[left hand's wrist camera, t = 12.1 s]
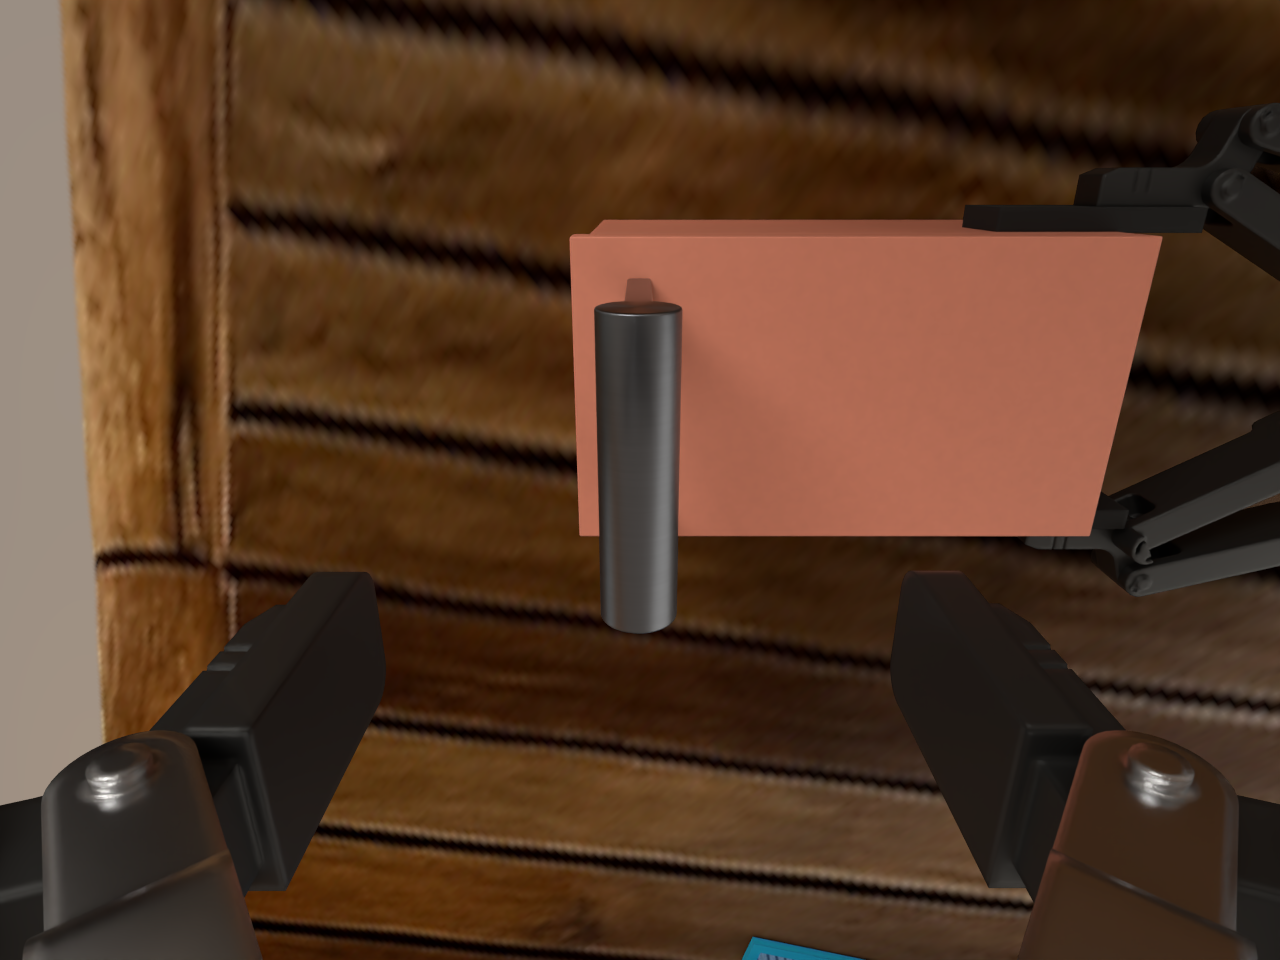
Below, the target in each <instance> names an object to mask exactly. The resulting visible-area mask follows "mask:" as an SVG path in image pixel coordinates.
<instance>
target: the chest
mask: <svg viewBox="0 0 1280 960" xmlns="http://www.w3.org/2000/svg"><path fill="white" fill-rule="evenodd" d="M962 224H963V220H603V222H602V223H601V224H600V225H599V226H598V227H597V228H596V229H595V230H594V231H593V232H591V233H590V234H1133V233H1123V232H993V231H986V230H979V229H971V228H964V227H962Z"/></svg>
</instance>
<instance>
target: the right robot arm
mask: <svg viewBox="0 0 1280 960" xmlns="http://www.w3.org/2000/svg"><path fill="white" fill-rule="evenodd" d="M1196 140H1197V142H1198V143H1197V145H1196V146H1195V148H1194V150H1193V152H1192V153H1191V154H1190V156H1189V157H1188V158H1187V159H1186V160H1185V161H1184V162H1182V163H1181V164H1179V165H1178V166H1175V167H1172V168H1096V169H1093V170H1091V171H1088V172H1086V173H1083V174H1081V175H1079V180H1078V185H1077V190H1076V195H1075V200H1074V205H965V211H964V217H963V224H962V227H964V228H971V229H979V230H986V231H993V232H1123V233H1202V230H1203V229H1204V230H1206V231H1207V232H1208V233H1210V234H1211V235H1213V236H1214V237H1216V238H1217V239H1219V240H1220V241H1222V242H1223V243H1225V244H1226V245H1227V246H1229V247H1230V248H1232V249H1233V250H1235V251H1236V252H1238V253H1239V254H1241V255H1242V256H1244V257H1245V258H1247V259H1248V260H1249V261H1251V262H1252V263H1254V264H1255V265H1257V266H1258V267H1260V268H1261V269H1263V270H1264V271H1266V272H1267V273H1269V274H1270V275H1271V276H1273V277H1274V278H1276V279H1277V280H1279V281H1280V194H1278V193H1277V192H1276V191H1274V190H1273V189H1271V188H1270V187H1269V186H1267V185H1266V184H1264V183H1263V182H1262V181H1260V180H1259V179H1257V178H1256V177H1255V176H1253V175H1252V174H1250V172H1251V171H1252V169H1253V167H1254V166H1255V165H1256V166H1259V167H1263V168H1266V169H1269V170H1272V171H1275V172H1278V173H1280V103H1269V104H1262V105H1254V106H1246V107H1238V108H1230V109H1222V110H1216V111H1213V112H1210V113H1209V114H1207V115H1206V116H1205V117H1203V119H1202V120H1201V122H1200V123H1199V124H1198V127H1197V130H1196ZM1279 493H1280V411H1277V412H1275V413H1273V414H1271V415H1269V416H1266V417H1264V418H1262V419H1260V420H1258V421H1256V422H1254V423H1253V425H1252V431H1251V432H1249V433H1247V434H1245V435H1243V436H1241V437H1239V438H1236V439H1234V440H1232V441H1230V442H1227V443H1225V444H1223V445H1221V446H1219V447H1216V448H1214V449H1212V450H1210V451H1208V452H1205V453H1203V454H1201V455H1199V456H1196V457H1194V458H1192V459H1190V460H1188V461H1185V462H1183V463H1181V464H1179V465H1176V466H1174V467H1172V468H1170V469H1168V470H1165V471H1163V472H1161V473H1159V474H1157V475H1154V476H1152V477H1150V478H1148V479H1145V480H1143V481H1141V482H1139V483H1137V484H1134V485H1132V486H1130V487H1128V488H1126V489H1123V490H1121V491H1119V492H1117V493H1114V494H1112V495H1110V496H1107V495H1105V494H1104V493H1102V492H1100V496H1099V500H1098V504H1097V508H1096V512H1095V516H1094V521H1093V525H1092V529H1091V533H1090V536H1017V537H1018V538H1019V539H1020V540H1021V541H1022V542H1023V543H1024V544H1026V545H1028V546H1031V547H1033V548H1036V549H1062V548H1063V549H1093V550H1092V552H1091V557H1090V558H1091V561H1092V563H1093V564H1095V565H1096V566H1097V567H1098V568H1099V569H1100V570H1101V571H1103V572H1104V573H1105V574H1106V575H1107V576H1108V577H1110V578H1111V579H1112V580H1113V581H1114V582H1116V583H1117V584H1118V585H1119V586H1120V587H1122V588H1123V589H1124V590H1125V591H1127V592H1128V593H1129V594H1130V595H1133V596H1136V597H1138V596H1145V595H1150V594H1155V593H1159V592H1164V591H1168V590H1173V589H1177V588H1182V587H1186V586H1191V585H1195V584H1200V583H1204V582H1209V581H1213V580H1218V579H1222V578H1227V577H1231V576H1236V575H1240V574H1245V573H1249V572H1254V571H1258V570H1263V569H1267V568H1272V567H1276V566H1280V502H1275V503H1269V504H1265V505H1260V506H1256V507H1252V508H1247V509H1244V508H1246V507H1249V506H1251V505H1253V504H1256V503H1258V502H1260V501H1263V500H1265V499H1267V498H1269V497H1272V496H1274V495H1276V494H1279ZM1242 509H1243V510H1242Z"/></svg>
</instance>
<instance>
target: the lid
mask: <svg viewBox="0 0 1280 960" xmlns="http://www.w3.org/2000/svg"><path fill="white" fill-rule="evenodd" d="M1161 242H1162V237H1161V236H1154V235H1144V234H574V235H572V236H571V237H570V262H571V292H572V322H573V352H574V382H575V412H576V441H577V471H578V501H579V531H580V536H599V549H600V592H601V616H602V618H603V620H604V621H605V623H606V624H608V625H609V626H610V627H612V628H614V629H616V630H619V631H622V632H627V633H638V634H639V633H650V632H655V631H658V630H661V629H663V628H665V627H667V626H668V625H670V624H671V623H672V622H673V621H674V619H675V617H676V613H677V565H678V536H1090V533H1091V529H1092V525H1093V521H1094V516H1095V512H1096V508H1097V504H1098V500H1099V496H1100V492H1101V488H1102V484H1103V480H1104V475H1105V471H1106V467H1107V463H1108V459H1109V455H1110V451H1111V447H1112V443H1113V439H1114V435H1115V430H1116V426H1117V422H1118V418H1119V414H1120V410H1121V406H1122V402H1123V398H1124V394H1125V390H1126V385H1127V381H1128V377H1129V373H1130V369H1131V365H1132V361H1133V357H1134V353H1135V349H1136V345H1137V340H1138V336H1139V332H1140V328H1141V324H1142V320H1143V316H1144V312H1145V308H1146V304H1147V300H1148V295H1149V291H1150V287H1151V283H1152V279H1153V275H1154V271H1155V267H1156V263H1157V259H1158V255H1159V250H1160V246H1161Z"/></svg>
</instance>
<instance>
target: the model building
mask: <svg viewBox="0 0 1280 960" xmlns="http://www.w3.org/2000/svg"><path fill="white" fill-rule="evenodd" d="M742 960H864V959H859V958H854V957H849V956H845V955H840V954H835V953H830V952H825V951H820V950H815V949H810V948H805V947H801V946H796V945H791V944H786V943H781V942H776V941H771V940H766V939H761V938H757V937H753V938H752V940H751V942H750V944H749V946H748V948H747V950H746V952H745V954H744V956H743V958H742Z"/></svg>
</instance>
